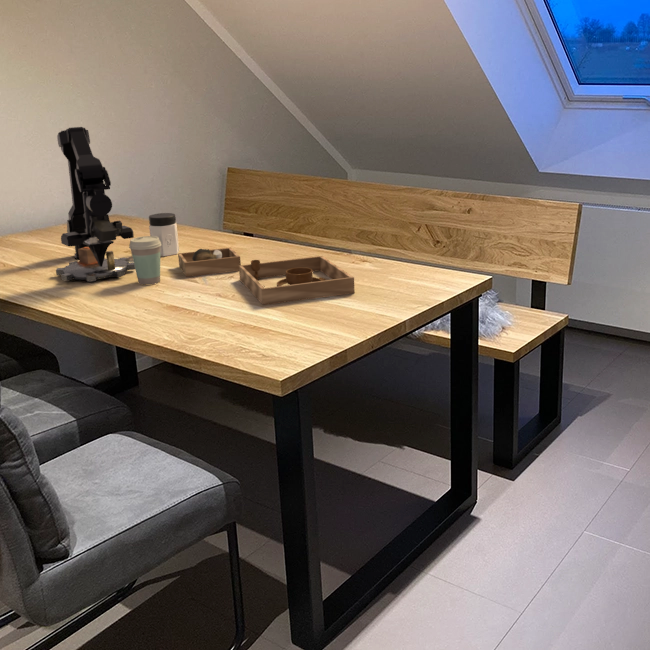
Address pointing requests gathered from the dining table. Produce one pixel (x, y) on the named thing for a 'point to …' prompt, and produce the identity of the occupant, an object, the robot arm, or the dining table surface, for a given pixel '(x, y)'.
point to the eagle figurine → (206, 255)
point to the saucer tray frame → (296, 292)
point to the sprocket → (96, 269)
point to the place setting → (290, 275)
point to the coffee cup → (146, 258)
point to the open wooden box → (209, 263)
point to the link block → (86, 255)
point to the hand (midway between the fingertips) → (100, 266)
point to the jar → (165, 232)
